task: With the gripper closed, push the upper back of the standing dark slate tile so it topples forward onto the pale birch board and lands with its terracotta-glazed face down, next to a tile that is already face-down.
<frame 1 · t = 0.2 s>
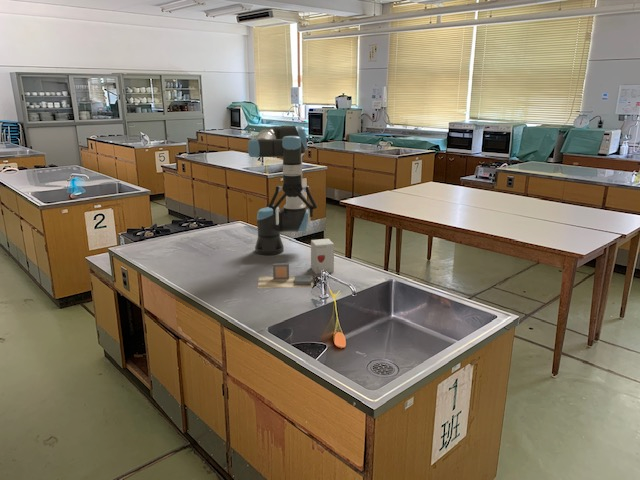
hand: (293, 224, 208), 27 cm above the countertop, fingers open, 13 cm apart
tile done: (302, 281, 215), point 1 cm above the countertop, touching board
board: (285, 284, 215), on the countertop
supplement box: (322, 272, 230), on the countertop
tile: (281, 278, 218), point 1 cm above the countertop, touching board
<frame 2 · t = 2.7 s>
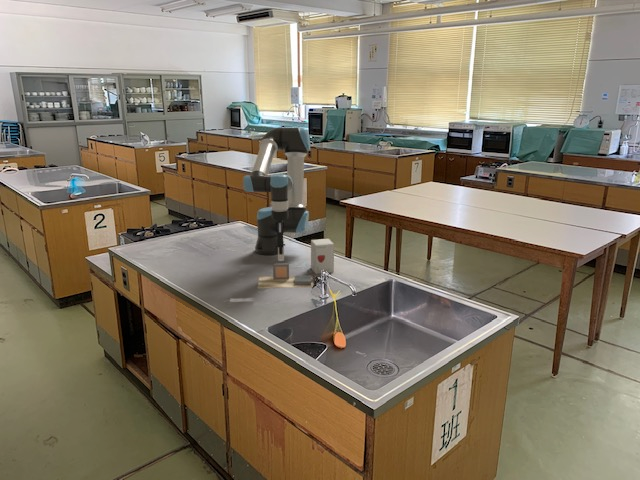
hand: (281, 260, 223), 7 cm above the countertop, fingers closed
nothing on the countertop moved.
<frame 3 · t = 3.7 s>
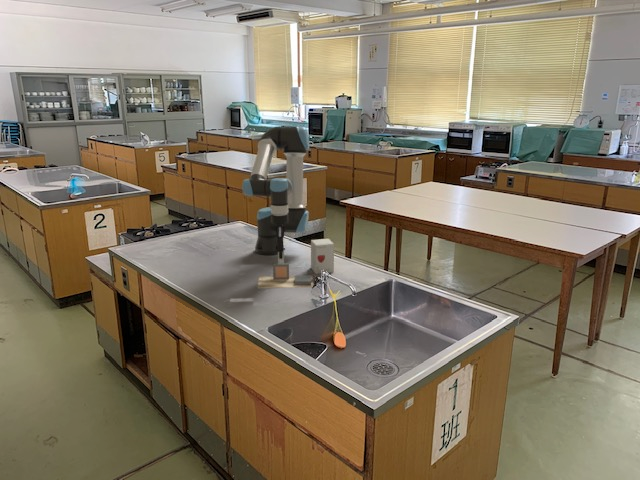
hand: (281, 264, 222), 6 cm above the countertop, fingers closed
nothing on the countertop moved.
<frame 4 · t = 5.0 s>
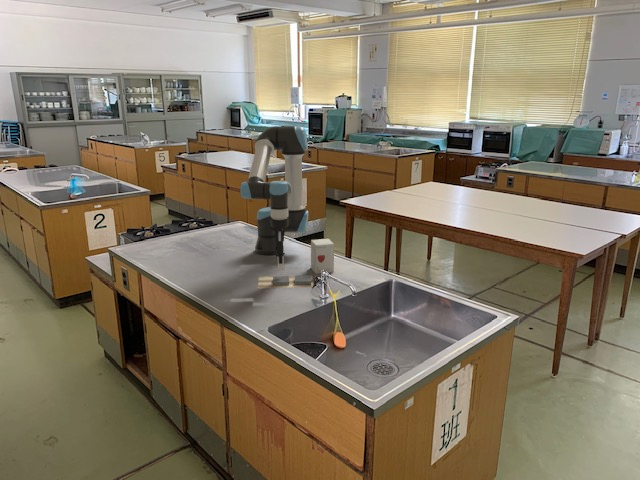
hand: (280, 269, 216), 6 cm above the countertop, fingers closed
tile: (281, 277, 217), point 2 cm above the countertop, tilted 90°, touching board
everything else where it was.
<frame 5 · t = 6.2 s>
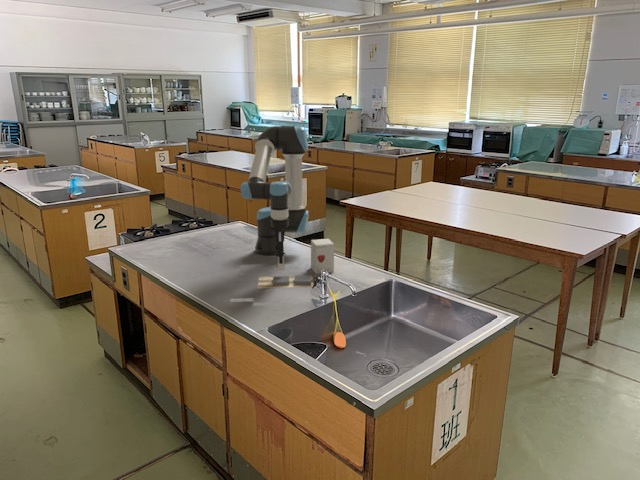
hand: (281, 269, 217), 6 cm above the countertop, fingers closed
nothing on the countertop moved.
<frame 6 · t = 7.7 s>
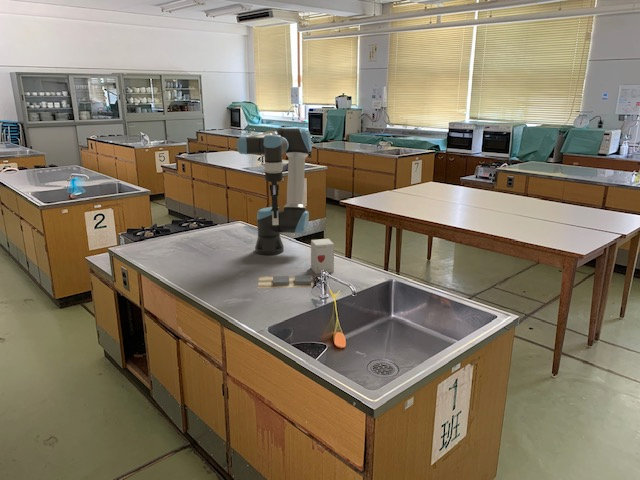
hand: (275, 224, 217), 25 cm above the countertop, fingers closed
nothing on the countertop moved.
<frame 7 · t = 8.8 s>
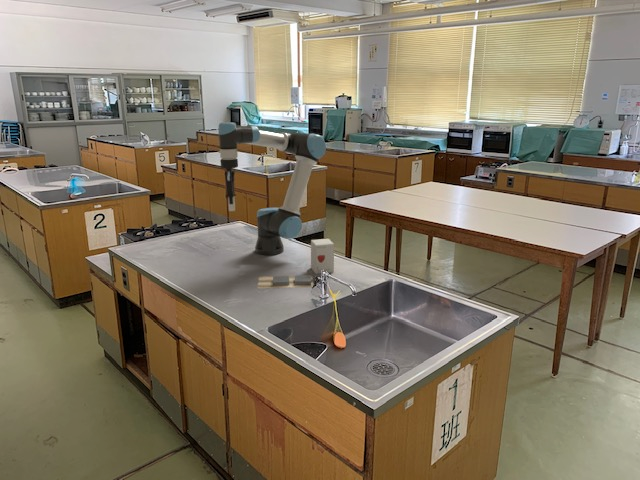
hand: (231, 210, 223), 29 cm above the countertop, fingers closed
nothing on the countertop moved.
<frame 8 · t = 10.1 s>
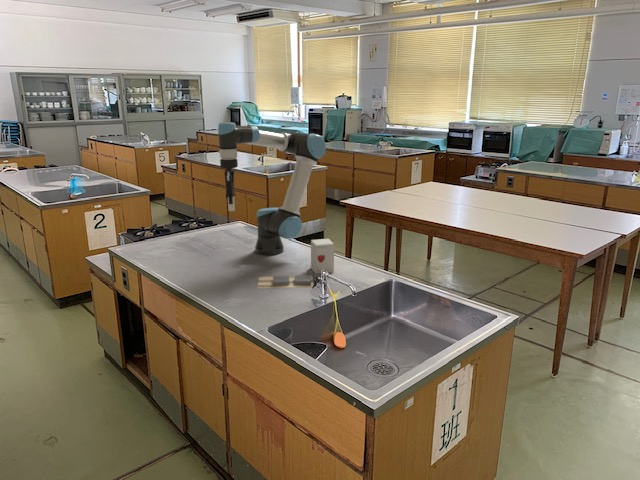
hand: (231, 210, 223), 29 cm above the countertop, fingers closed
nothing on the countertop moved.
at the end: tile tilted 90°; tile inside the target area on the board (2.9 cm from its centre), point 2.0 cm above the board's base; the gripper is holding nothing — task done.
